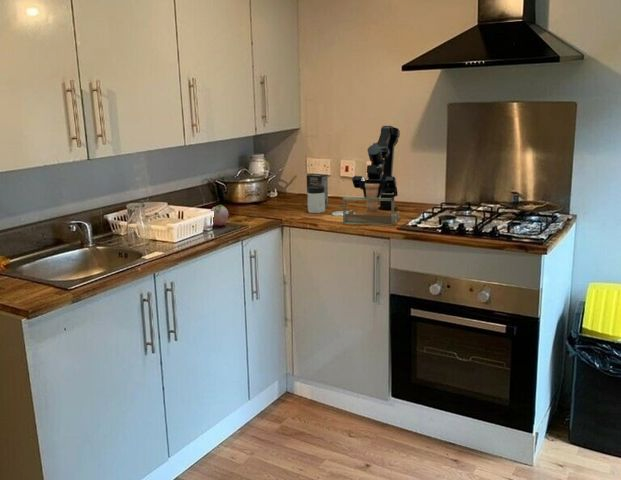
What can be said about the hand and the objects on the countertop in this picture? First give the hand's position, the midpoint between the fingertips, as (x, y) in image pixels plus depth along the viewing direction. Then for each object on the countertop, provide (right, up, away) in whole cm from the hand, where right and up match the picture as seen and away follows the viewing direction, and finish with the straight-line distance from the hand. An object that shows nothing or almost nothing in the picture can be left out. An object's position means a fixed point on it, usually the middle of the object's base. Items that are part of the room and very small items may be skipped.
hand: (371, 198), depth 275 cm
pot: (+1, -5, +3) cm, 6 cm away
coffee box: (-23, -2, +44) cm, 50 cm away
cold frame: (+1, -10, +4) cm, 11 cm away
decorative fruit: (-66, -12, +4) cm, 67 cm away
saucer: (-11, -6, +22) cm, 26 cm away
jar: (-23, -5, +31) cm, 39 cm away
